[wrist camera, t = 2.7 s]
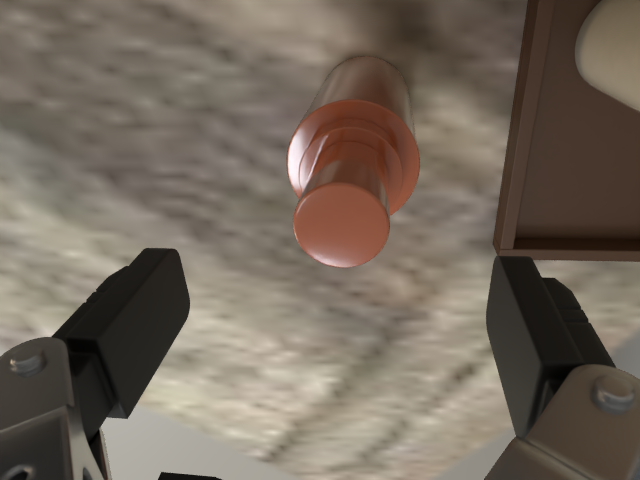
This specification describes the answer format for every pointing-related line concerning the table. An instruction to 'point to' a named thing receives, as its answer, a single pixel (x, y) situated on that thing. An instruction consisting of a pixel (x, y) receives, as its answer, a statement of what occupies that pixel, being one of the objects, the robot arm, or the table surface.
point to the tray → (567, 152)
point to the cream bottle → (612, 50)
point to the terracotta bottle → (353, 162)
